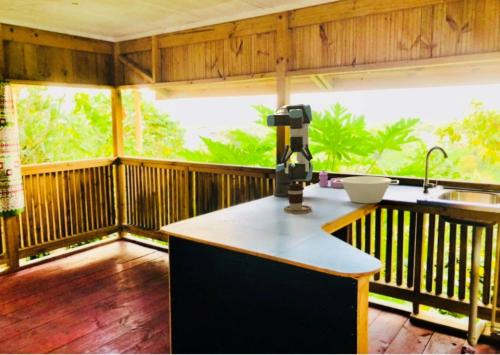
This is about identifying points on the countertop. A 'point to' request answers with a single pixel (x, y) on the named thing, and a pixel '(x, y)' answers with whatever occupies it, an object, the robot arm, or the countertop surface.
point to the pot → (366, 188)
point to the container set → (324, 182)
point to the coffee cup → (295, 196)
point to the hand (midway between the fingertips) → (297, 172)
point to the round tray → (304, 210)
